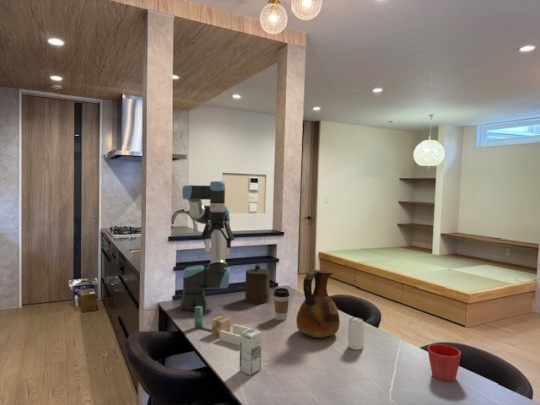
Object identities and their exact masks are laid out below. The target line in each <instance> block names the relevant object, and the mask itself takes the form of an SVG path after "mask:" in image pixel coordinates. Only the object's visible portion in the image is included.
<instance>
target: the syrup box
mask: <svg viewBox="0 0 540 405" xmlns="http://www.w3.org/2000/svg"><path fill="white" fill-rule="evenodd" d="M249 328H250V329H248V330H246V331H243V332H241V333H240V346H239V372H242V373H243V374H247V375H249V376H252V375H254V374H256V373H258V372H259V371H260V370H261V369H262V334H263V333H262V332H261V331H260V330H259V329H256V330H255V328H252V327H249ZM251 328H252V329H251ZM258 330H259V331H258Z"/></svg>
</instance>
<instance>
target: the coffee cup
mask: <svg viewBox="0 0 540 405" xmlns="http://www.w3.org/2000/svg"><path fill="white" fill-rule="evenodd" d="M273 297H274V299H273V302H274V312H275V313H274V314H275V320H277V321H285V320H287V319H288V312H289V311H288V310H289V301H290V299H289V298H290V292H289V289H287V288H286V287H285V288H283V287H280V288H279V287H278V288H276V289H274V292H273Z"/></svg>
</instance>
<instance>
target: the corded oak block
mask: <svg viewBox="0 0 540 405" xmlns="http://www.w3.org/2000/svg"><path fill="white" fill-rule="evenodd" d="M203 312H204V309H203V307H202V306H196V307H195V311H194V328H195V329H196V330H201V329H202V330H206V331H209V332H211V335H212V336H216V337H219V338H220V331H221V330H223V331H227V332H230V333H231V318H230V317H228V316H227V317H226V316H222V315H219V316H217V317H214V318H212V319H211V328H208V327H204V325H203V323H204V322H203Z"/></svg>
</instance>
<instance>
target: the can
mask: <svg viewBox="0 0 540 405" xmlns="http://www.w3.org/2000/svg"><path fill="white" fill-rule="evenodd" d="M347 333H348V336H347V338H348V339H347V340H348V341H347V345H348V348H350V350H354V351H361V350H363V349H364V347H365V346H364V344H365V323H364V319H363V318H361V317H357V316H352V317H349V320H348V332H347Z"/></svg>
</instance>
